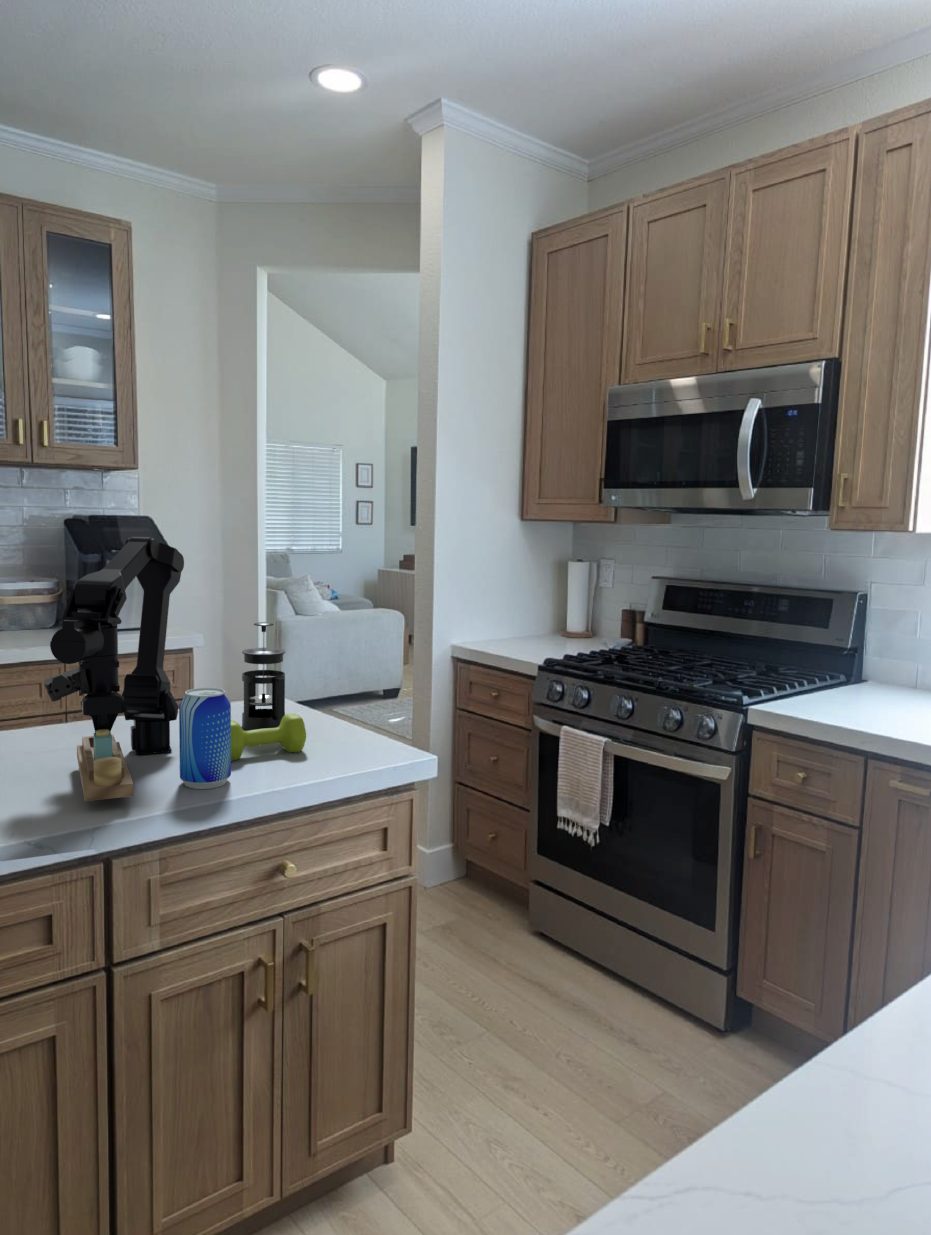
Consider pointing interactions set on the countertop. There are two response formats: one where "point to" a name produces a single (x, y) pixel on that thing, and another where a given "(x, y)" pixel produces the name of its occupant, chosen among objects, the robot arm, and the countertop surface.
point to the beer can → (205, 738)
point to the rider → (102, 744)
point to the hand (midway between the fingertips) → (101, 744)
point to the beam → (103, 772)
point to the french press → (263, 717)
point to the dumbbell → (270, 736)
